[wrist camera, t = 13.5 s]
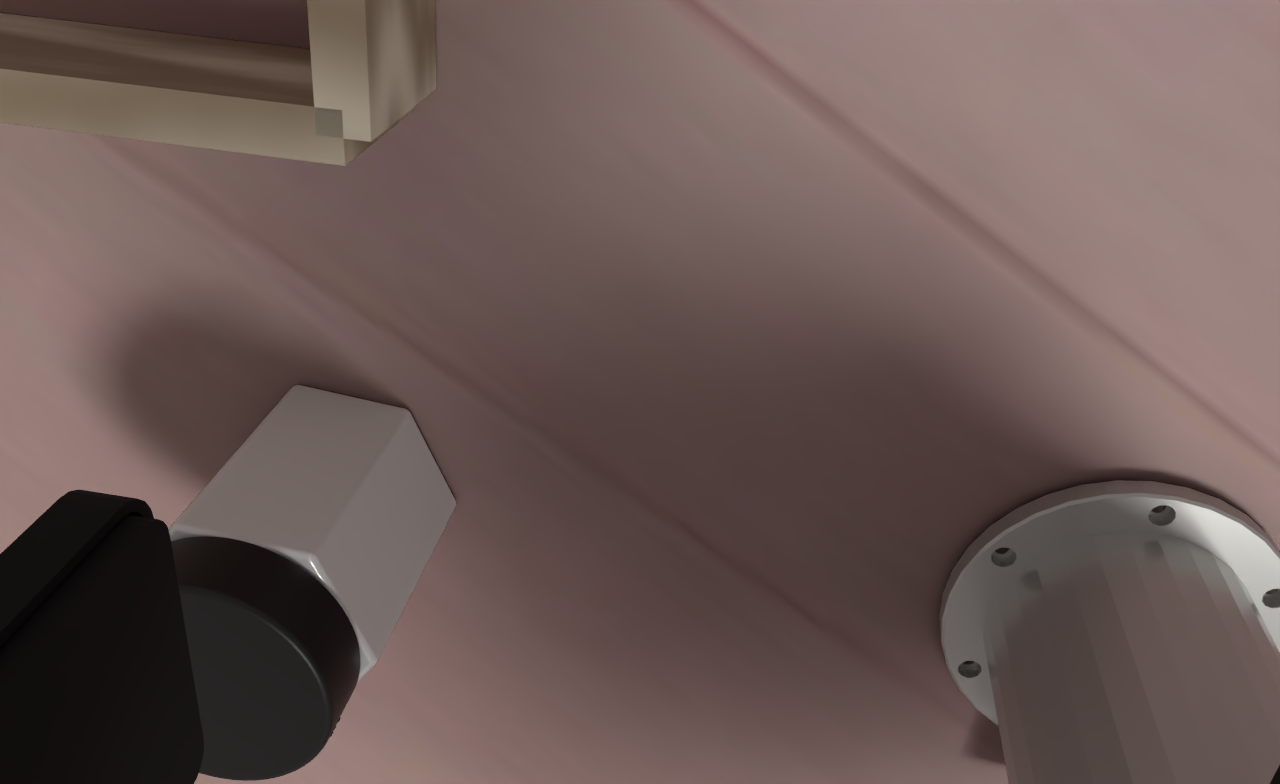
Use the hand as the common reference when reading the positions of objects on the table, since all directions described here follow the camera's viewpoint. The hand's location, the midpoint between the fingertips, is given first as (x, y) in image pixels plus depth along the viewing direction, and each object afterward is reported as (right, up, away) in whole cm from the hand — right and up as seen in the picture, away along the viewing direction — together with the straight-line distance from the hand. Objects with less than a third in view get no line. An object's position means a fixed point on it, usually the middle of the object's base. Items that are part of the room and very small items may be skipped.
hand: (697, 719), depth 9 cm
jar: (-12, -1, +35) cm, 37 cm away
